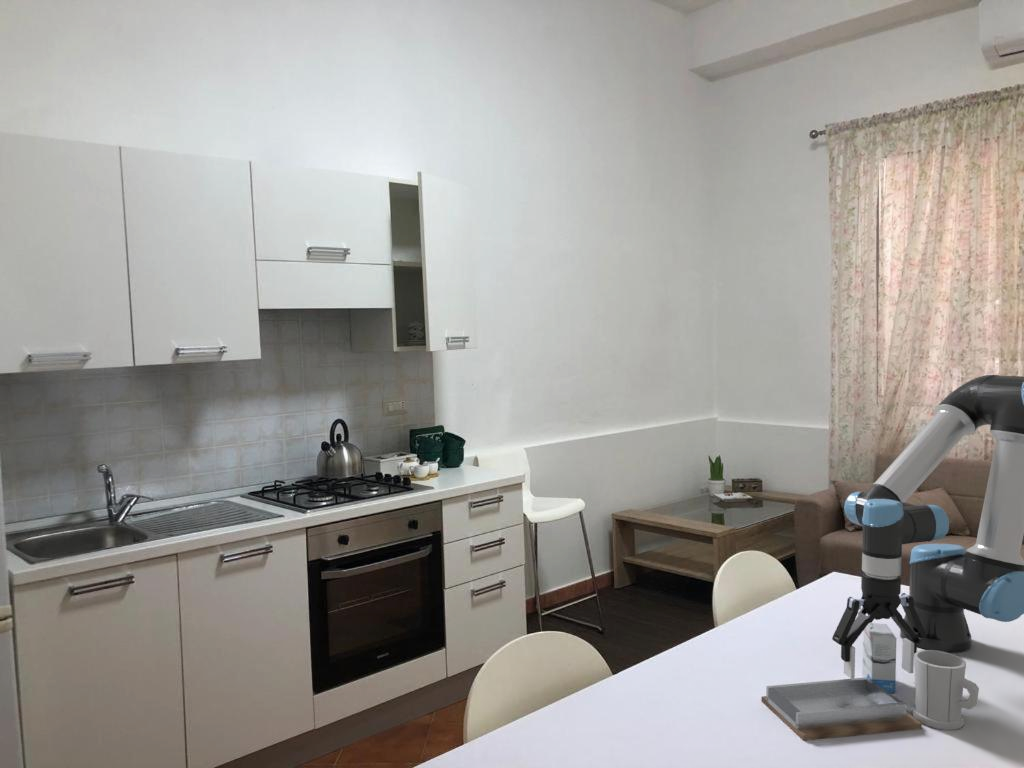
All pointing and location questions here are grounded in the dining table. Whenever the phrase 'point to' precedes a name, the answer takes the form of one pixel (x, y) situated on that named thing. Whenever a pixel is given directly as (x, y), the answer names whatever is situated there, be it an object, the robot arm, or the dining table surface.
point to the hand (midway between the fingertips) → (878, 673)
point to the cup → (941, 689)
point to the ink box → (879, 655)
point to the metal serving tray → (834, 703)
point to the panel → (850, 727)
